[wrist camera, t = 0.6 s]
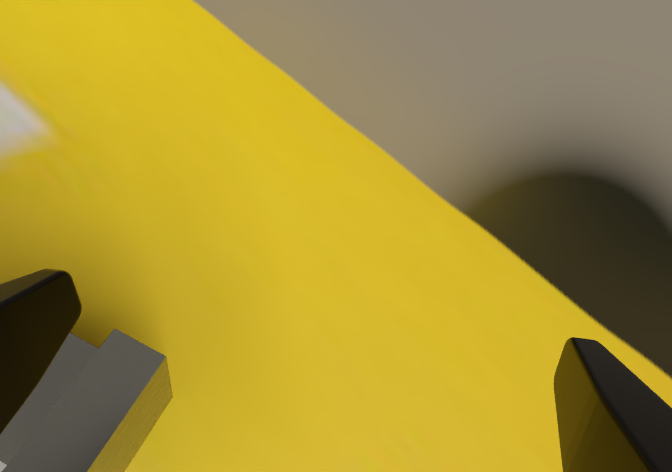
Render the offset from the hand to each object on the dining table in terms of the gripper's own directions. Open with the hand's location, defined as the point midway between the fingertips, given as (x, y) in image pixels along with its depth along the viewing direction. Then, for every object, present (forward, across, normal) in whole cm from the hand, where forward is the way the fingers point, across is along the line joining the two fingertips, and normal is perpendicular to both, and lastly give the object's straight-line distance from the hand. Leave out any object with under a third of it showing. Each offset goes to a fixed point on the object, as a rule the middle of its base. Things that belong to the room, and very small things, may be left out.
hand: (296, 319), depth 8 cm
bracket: (+5, +13, +11) cm, 18 cm away
